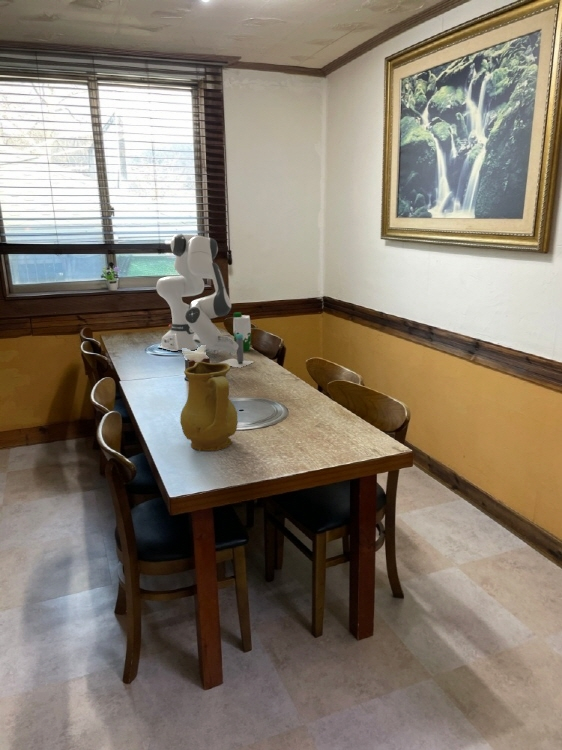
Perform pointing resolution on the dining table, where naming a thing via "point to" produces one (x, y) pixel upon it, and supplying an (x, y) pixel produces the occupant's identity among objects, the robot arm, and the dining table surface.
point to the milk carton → (242, 329)
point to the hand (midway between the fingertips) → (224, 353)
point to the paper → (236, 363)
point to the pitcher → (208, 407)
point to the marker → (240, 348)
